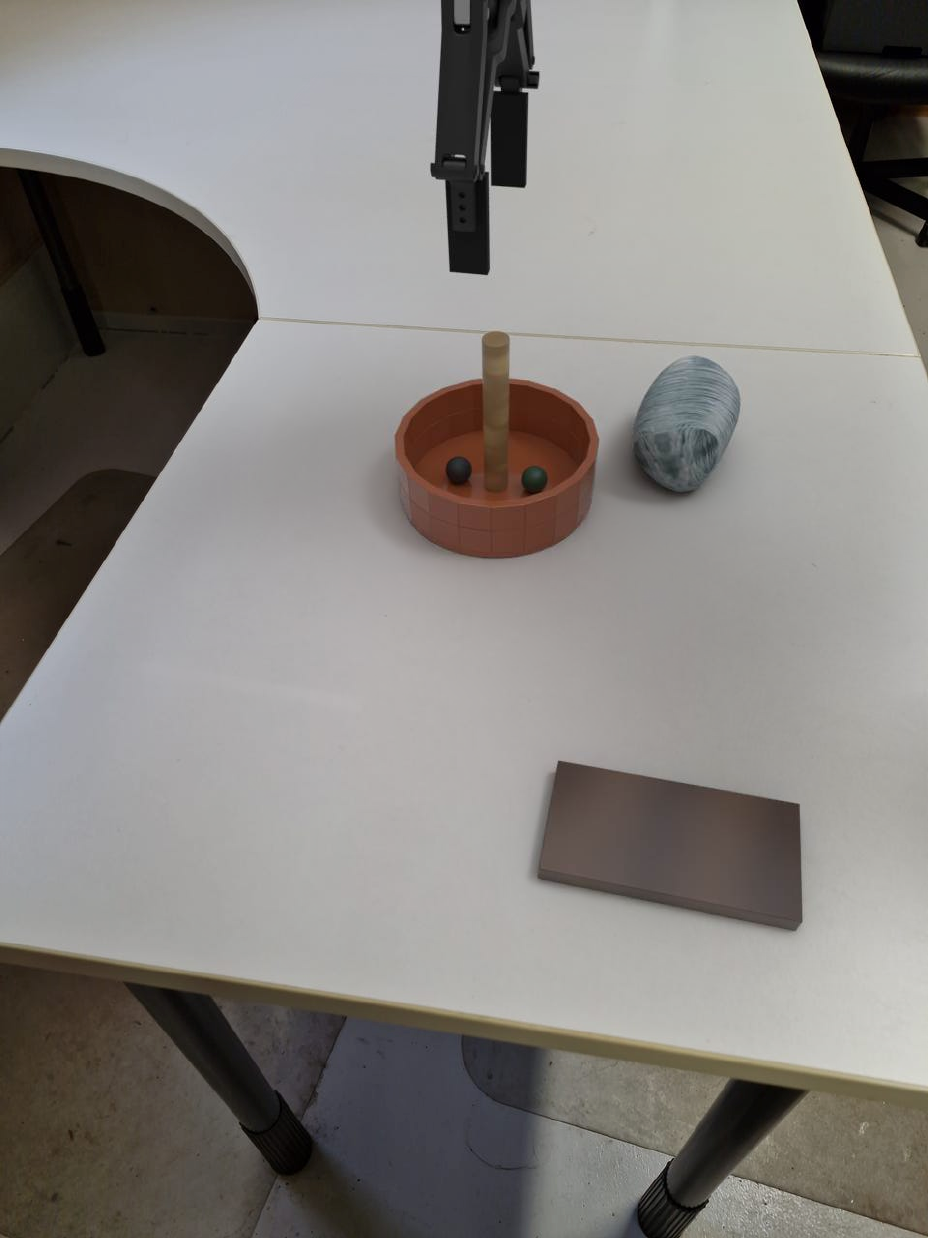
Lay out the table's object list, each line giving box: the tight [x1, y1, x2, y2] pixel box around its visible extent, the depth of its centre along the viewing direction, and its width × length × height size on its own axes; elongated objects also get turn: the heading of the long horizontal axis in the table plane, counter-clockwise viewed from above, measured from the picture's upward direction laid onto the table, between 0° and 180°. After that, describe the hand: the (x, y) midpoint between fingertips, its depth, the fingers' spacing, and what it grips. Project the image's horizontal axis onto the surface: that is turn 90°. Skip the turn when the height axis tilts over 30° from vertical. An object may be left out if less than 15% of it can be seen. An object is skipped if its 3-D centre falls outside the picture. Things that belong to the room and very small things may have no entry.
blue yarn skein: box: [631, 355, 741, 493], centre depth 78 cm, size 14×10×10 cm
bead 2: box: [521, 466, 548, 493], centre depth 77 cm, size 2×2×2 cm
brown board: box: [537, 760, 804, 931], centre depth 56 cm, size 16×8×2 cm, turn 77°
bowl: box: [394, 377, 600, 559], centre depth 77 cm, size 18×18×6 cm
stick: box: [481, 330, 511, 492], centre depth 73 cm, size 2×2×15 cm
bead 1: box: [446, 456, 472, 483], centre depth 78 cm, size 2×2×2 cm
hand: (490, 225), depth 63 cm, fingers open, 13 cm apart
